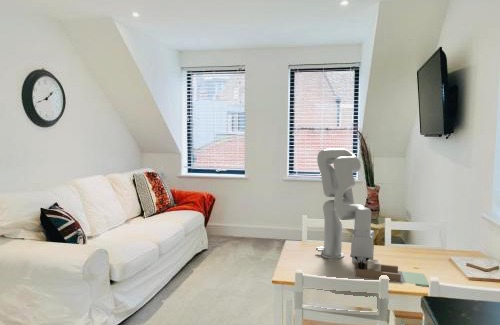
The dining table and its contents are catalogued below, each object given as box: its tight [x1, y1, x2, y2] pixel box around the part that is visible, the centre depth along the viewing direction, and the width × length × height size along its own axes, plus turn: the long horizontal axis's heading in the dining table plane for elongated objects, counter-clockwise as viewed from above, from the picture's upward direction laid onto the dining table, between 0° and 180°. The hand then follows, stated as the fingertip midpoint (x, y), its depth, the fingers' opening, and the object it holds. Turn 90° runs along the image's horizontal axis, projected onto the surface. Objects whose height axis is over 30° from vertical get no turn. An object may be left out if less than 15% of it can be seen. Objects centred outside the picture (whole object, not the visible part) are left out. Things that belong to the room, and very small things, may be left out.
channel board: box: [354, 262, 430, 287], centre depth 169 cm, size 32×14×4 cm, turn 74°
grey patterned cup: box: [367, 258, 382, 272], centre depth 171 cm, size 6×6×6 cm
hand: (361, 269), depth 173 cm, fingers closed
